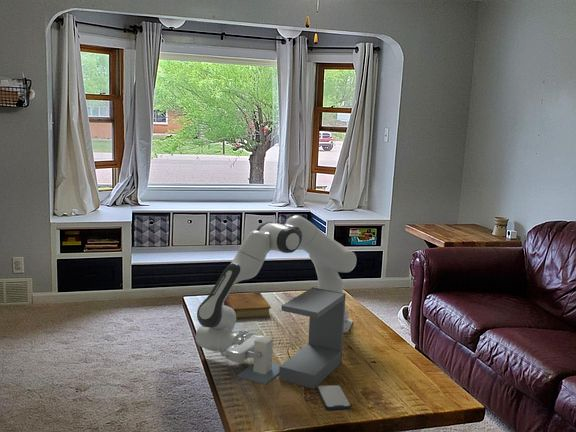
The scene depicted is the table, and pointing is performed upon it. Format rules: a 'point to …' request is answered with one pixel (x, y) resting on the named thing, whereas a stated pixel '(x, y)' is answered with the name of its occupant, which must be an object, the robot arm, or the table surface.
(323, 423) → the table surface
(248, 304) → the diary
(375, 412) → the table surface
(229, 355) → the robot arm
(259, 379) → the mat
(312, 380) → the grey c-shaped bracket
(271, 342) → the block
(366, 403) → the table surface
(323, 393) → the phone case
